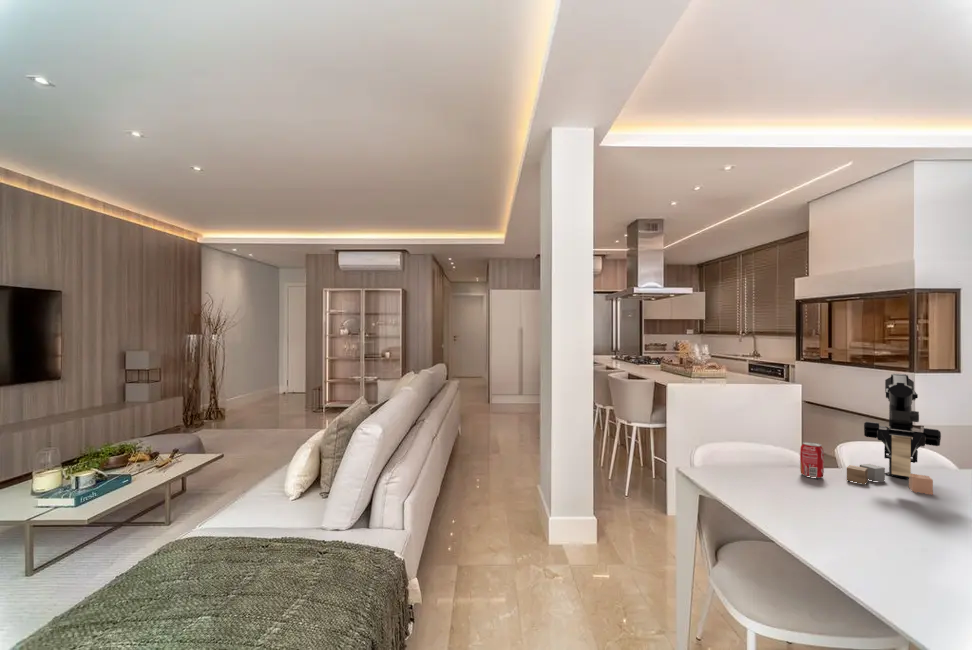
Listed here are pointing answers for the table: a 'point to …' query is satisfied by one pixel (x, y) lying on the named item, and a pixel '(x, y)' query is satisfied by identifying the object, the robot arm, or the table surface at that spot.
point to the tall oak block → (901, 455)
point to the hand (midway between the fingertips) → (901, 454)
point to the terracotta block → (921, 484)
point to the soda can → (812, 459)
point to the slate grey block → (875, 472)
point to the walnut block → (857, 474)
